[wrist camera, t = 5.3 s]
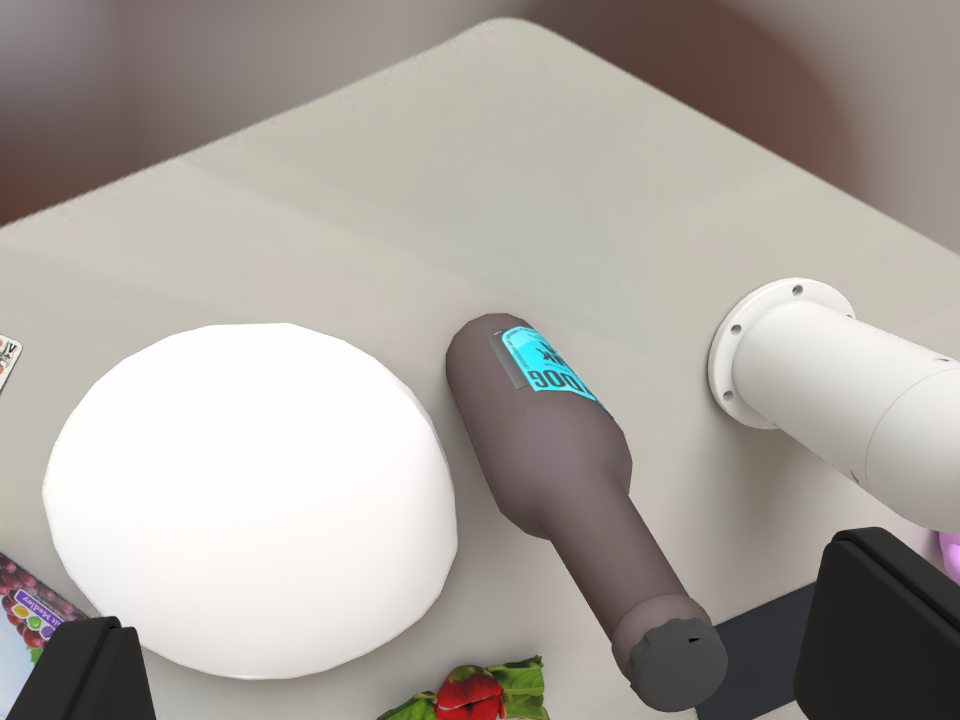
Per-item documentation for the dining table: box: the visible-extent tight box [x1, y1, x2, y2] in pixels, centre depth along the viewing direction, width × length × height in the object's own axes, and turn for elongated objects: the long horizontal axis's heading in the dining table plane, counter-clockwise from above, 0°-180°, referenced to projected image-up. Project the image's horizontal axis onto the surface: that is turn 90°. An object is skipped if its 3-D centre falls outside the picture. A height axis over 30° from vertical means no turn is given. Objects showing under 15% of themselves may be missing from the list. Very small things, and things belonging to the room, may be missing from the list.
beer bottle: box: [446, 313, 728, 712], centre depth 35 cm, size 8×8×30 cm
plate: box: [41, 323, 458, 680], centre depth 47 cm, size 28×6×27 cm
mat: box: [695, 581, 817, 720], centre depth 66 cm, size 18×14×1 cm
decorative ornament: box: [377, 655, 550, 720], centre depth 58 cm, size 15×5×10 cm
